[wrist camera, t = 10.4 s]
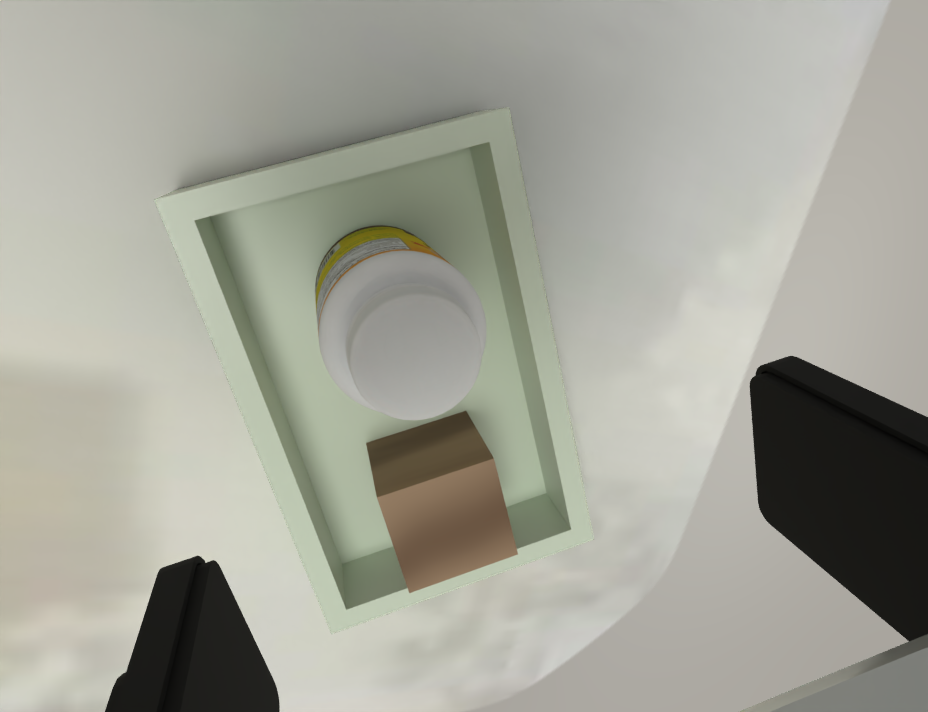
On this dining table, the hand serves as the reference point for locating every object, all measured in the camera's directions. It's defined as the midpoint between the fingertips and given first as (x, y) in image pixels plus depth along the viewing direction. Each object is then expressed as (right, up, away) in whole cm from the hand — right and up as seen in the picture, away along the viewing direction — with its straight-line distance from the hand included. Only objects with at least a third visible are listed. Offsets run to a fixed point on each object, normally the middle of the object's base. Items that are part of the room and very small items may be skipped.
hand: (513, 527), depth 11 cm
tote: (-4, +2, +20) cm, 20 cm away
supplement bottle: (-5, +6, +18) cm, 19 cm away
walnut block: (-3, -3, +21) cm, 21 cm away
